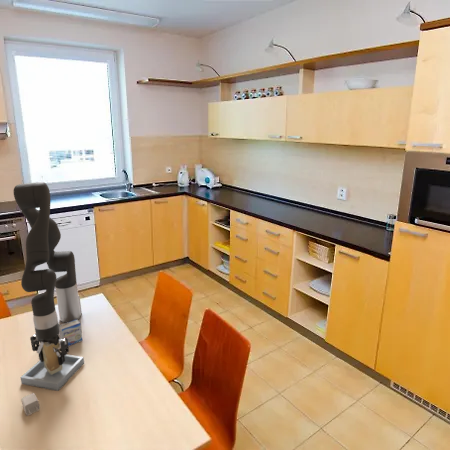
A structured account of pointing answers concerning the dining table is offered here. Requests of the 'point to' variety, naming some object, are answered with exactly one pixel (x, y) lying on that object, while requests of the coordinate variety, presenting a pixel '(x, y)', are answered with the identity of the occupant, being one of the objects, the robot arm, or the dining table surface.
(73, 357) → the tray
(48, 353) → the skincare box
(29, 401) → the usb wall charger
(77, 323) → the medicine box
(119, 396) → the dining table surface
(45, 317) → the robot arm
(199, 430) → the dining table surface
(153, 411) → the dining table surface
